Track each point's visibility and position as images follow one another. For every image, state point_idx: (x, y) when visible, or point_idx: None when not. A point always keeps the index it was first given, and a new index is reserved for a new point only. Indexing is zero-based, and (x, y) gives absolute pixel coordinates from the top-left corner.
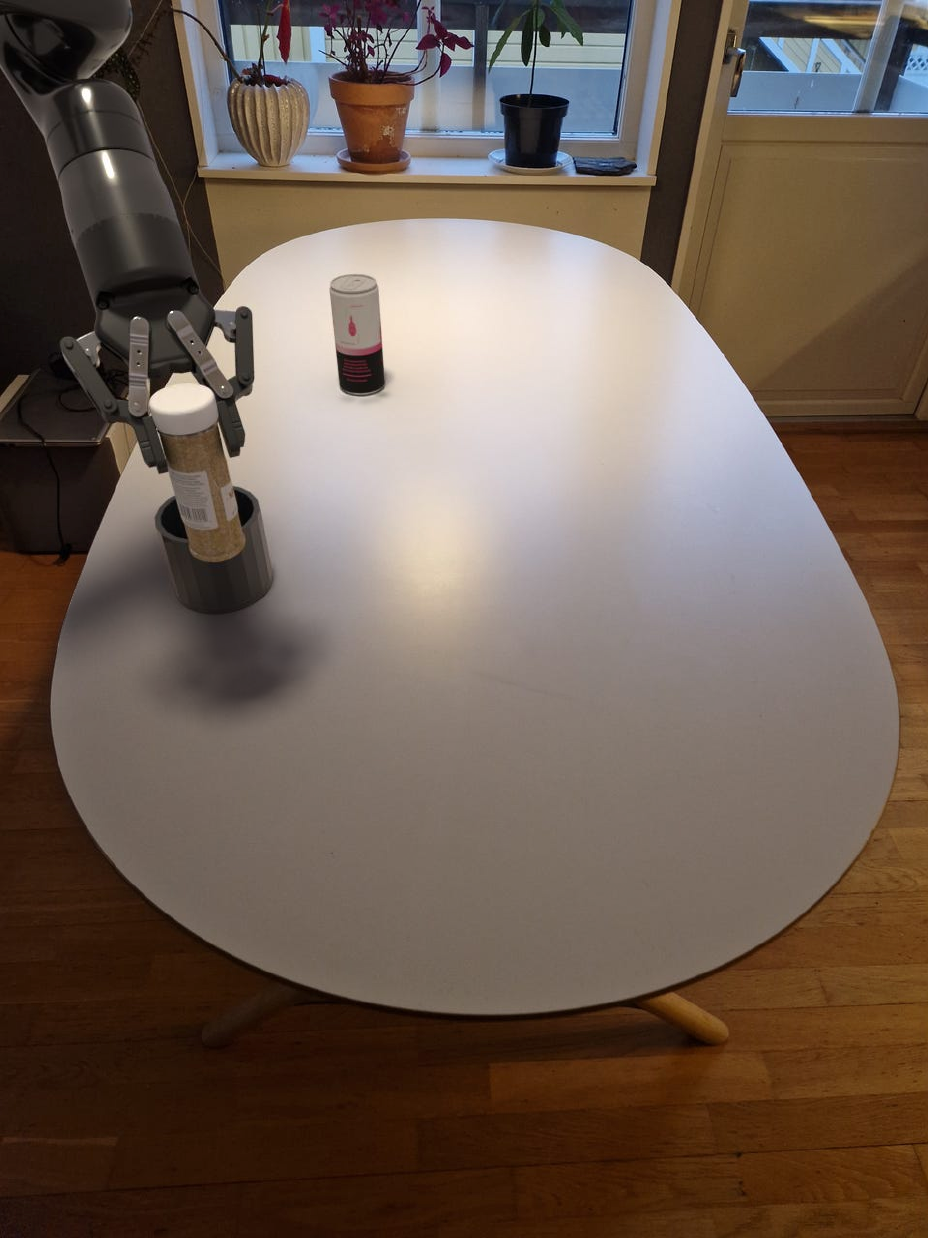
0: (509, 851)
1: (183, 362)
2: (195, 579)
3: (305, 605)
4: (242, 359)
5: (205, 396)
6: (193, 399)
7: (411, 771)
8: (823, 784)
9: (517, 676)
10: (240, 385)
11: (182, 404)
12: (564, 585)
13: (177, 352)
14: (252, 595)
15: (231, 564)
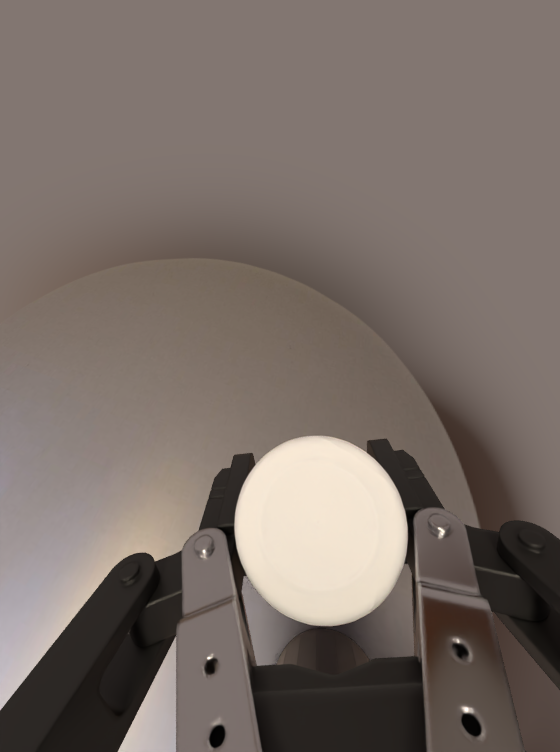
0: (202, 324)
1: (285, 666)
2: (355, 659)
3: (251, 606)
4: (96, 633)
5: (256, 495)
6: (287, 486)
7: (229, 387)
8: (40, 317)
9: (130, 443)
10: (160, 573)
11: (317, 469)
12: (36, 535)
13: (296, 716)
14: (298, 638)
15: (311, 654)
